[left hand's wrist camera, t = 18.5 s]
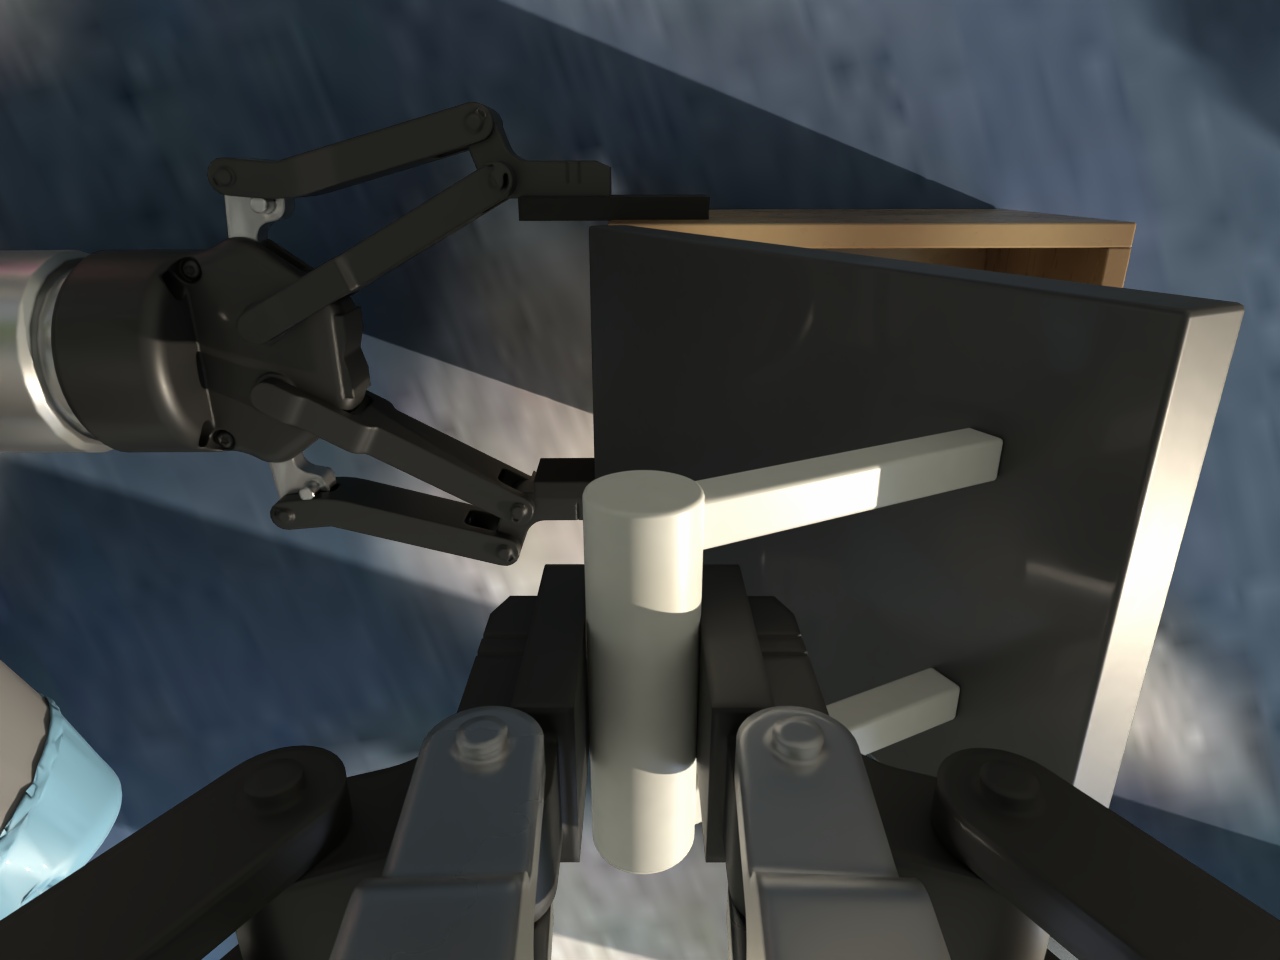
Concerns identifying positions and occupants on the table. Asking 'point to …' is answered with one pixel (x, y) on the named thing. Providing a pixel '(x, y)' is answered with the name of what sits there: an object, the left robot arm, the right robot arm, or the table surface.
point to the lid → (881, 502)
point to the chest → (937, 237)
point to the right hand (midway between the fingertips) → (701, 350)
